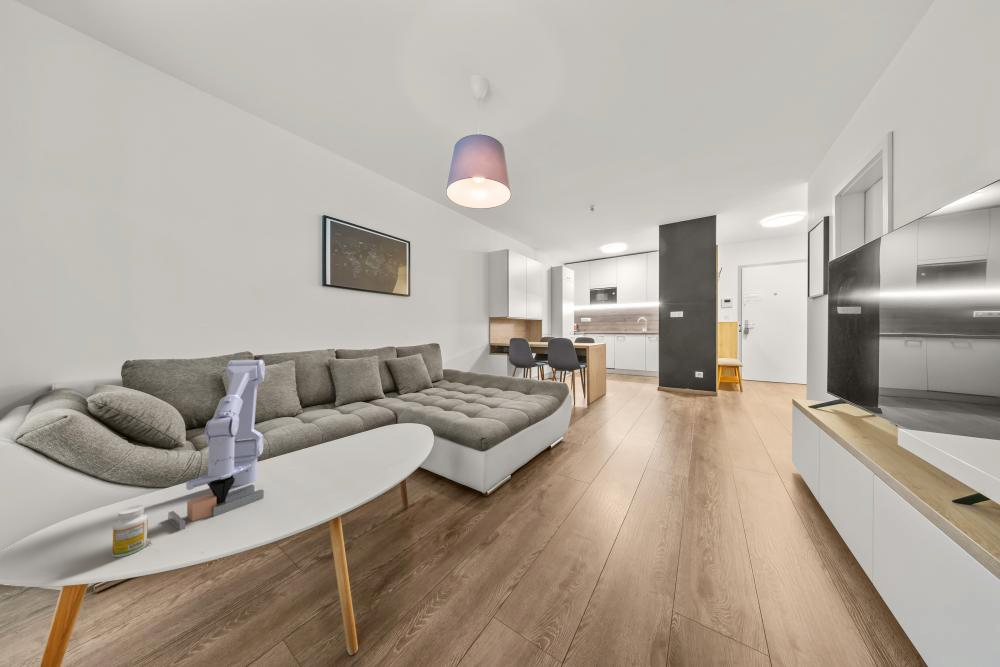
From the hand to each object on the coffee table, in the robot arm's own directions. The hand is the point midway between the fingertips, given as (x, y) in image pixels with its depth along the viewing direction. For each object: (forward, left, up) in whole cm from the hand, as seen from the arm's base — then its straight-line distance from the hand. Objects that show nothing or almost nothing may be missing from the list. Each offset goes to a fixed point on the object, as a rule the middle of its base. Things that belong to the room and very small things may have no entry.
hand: (220, 504), depth 91 cm
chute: (0, +1, -2) cm, 3 cm away
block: (0, -4, -1) cm, 4 cm away
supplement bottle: (+3, -18, -2) cm, 18 cm away
